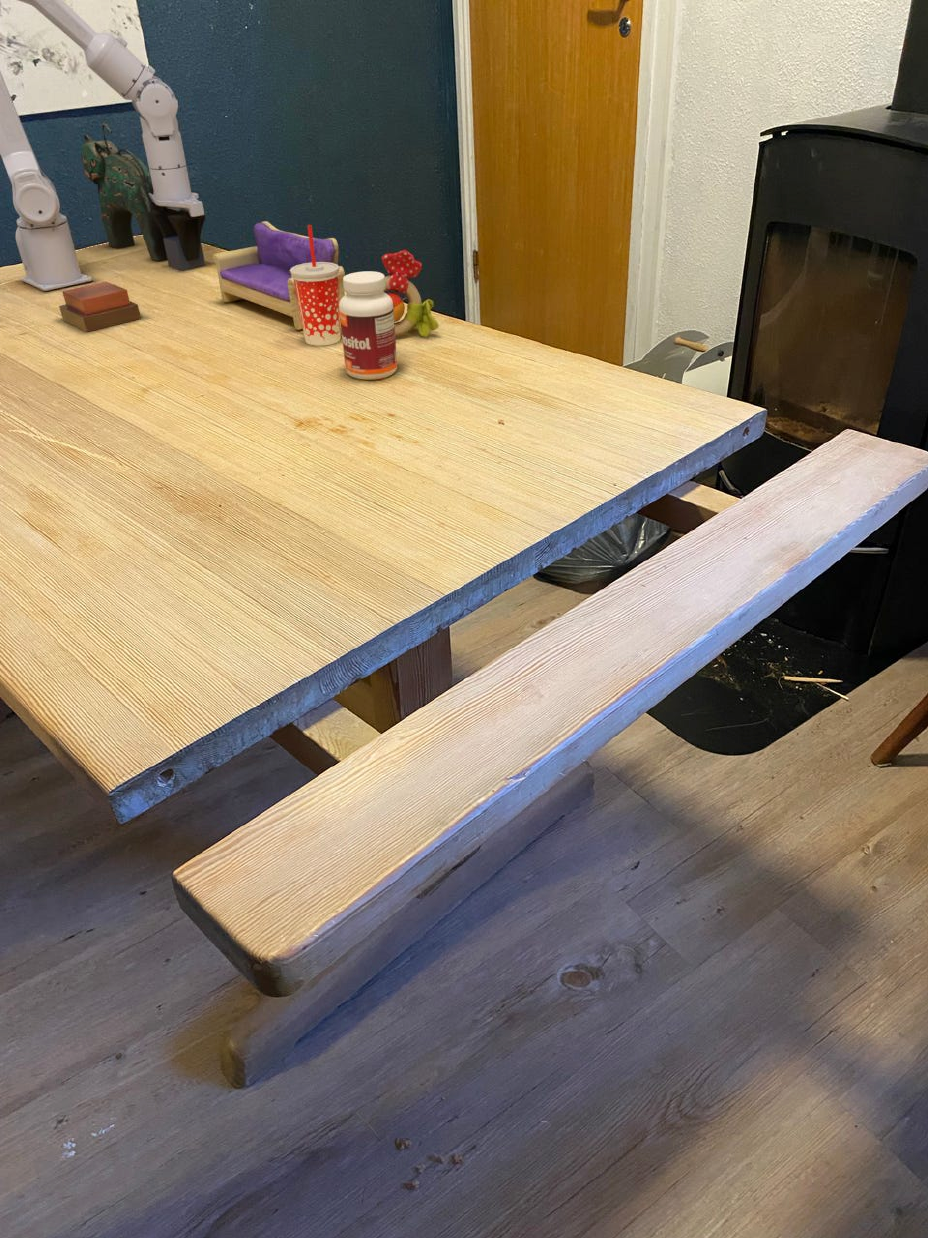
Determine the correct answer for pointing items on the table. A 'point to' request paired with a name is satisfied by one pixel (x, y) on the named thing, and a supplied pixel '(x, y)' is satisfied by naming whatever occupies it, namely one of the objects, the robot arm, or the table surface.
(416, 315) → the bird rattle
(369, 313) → the pill bottle
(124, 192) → the green animal figurine
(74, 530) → the table surface
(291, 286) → the toy sofa
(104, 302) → the stack
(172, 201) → the robot arm
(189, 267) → the cube
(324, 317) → the beverage cup
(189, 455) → the table surface
